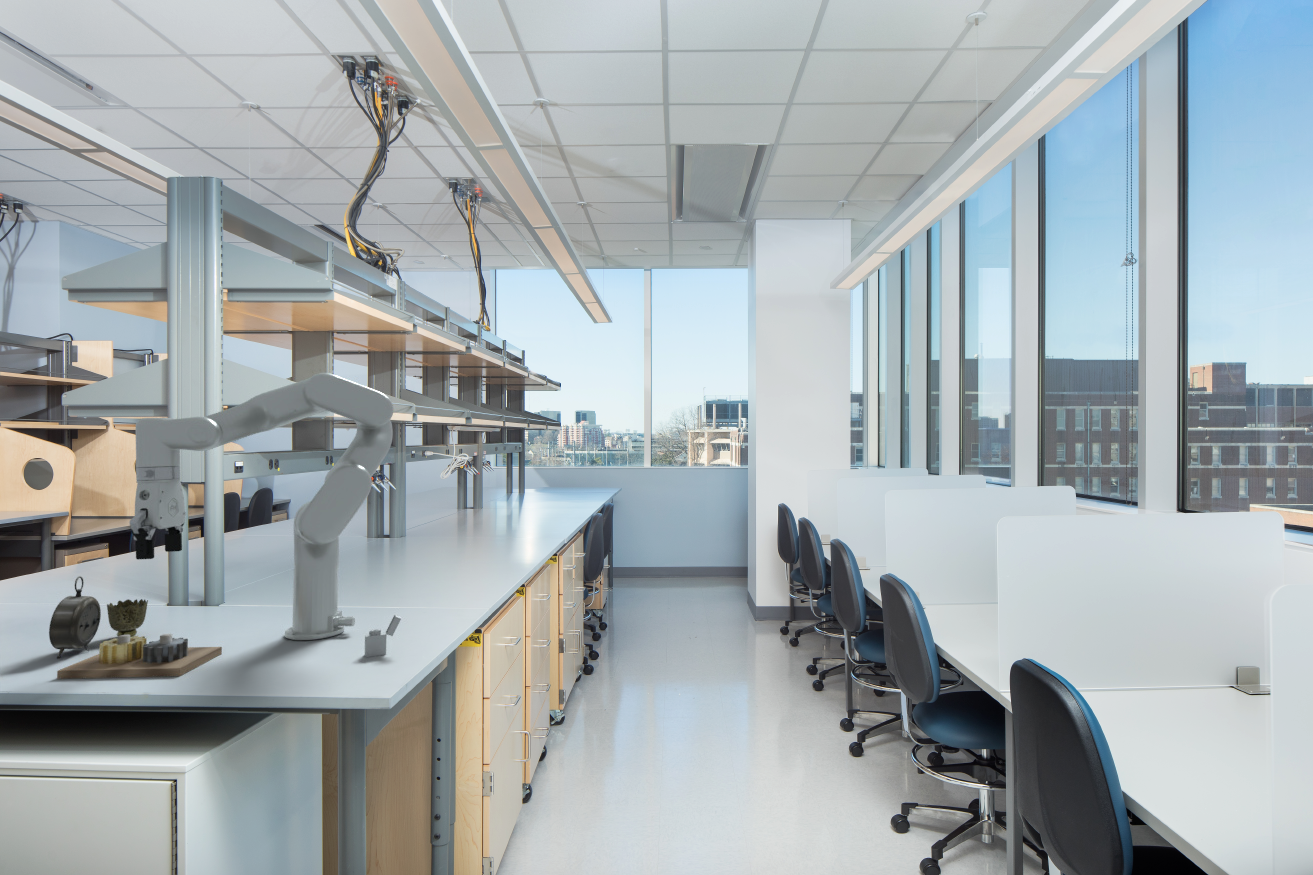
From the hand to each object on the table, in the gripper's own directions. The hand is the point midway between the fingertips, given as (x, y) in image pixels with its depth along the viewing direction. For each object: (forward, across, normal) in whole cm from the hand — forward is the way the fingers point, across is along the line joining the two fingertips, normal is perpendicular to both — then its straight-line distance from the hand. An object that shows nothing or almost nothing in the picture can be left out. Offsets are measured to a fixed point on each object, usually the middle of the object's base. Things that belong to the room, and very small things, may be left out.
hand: (159, 554), depth 141 cm
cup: (+21, +14, +15) cm, 29 cm away
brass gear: (+19, -9, +2) cm, 21 cm away
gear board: (+21, -9, -2) cm, 23 cm away
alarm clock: (+21, +2, +18) cm, 27 cm away
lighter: (+23, -6, -47) cm, 52 cm away
